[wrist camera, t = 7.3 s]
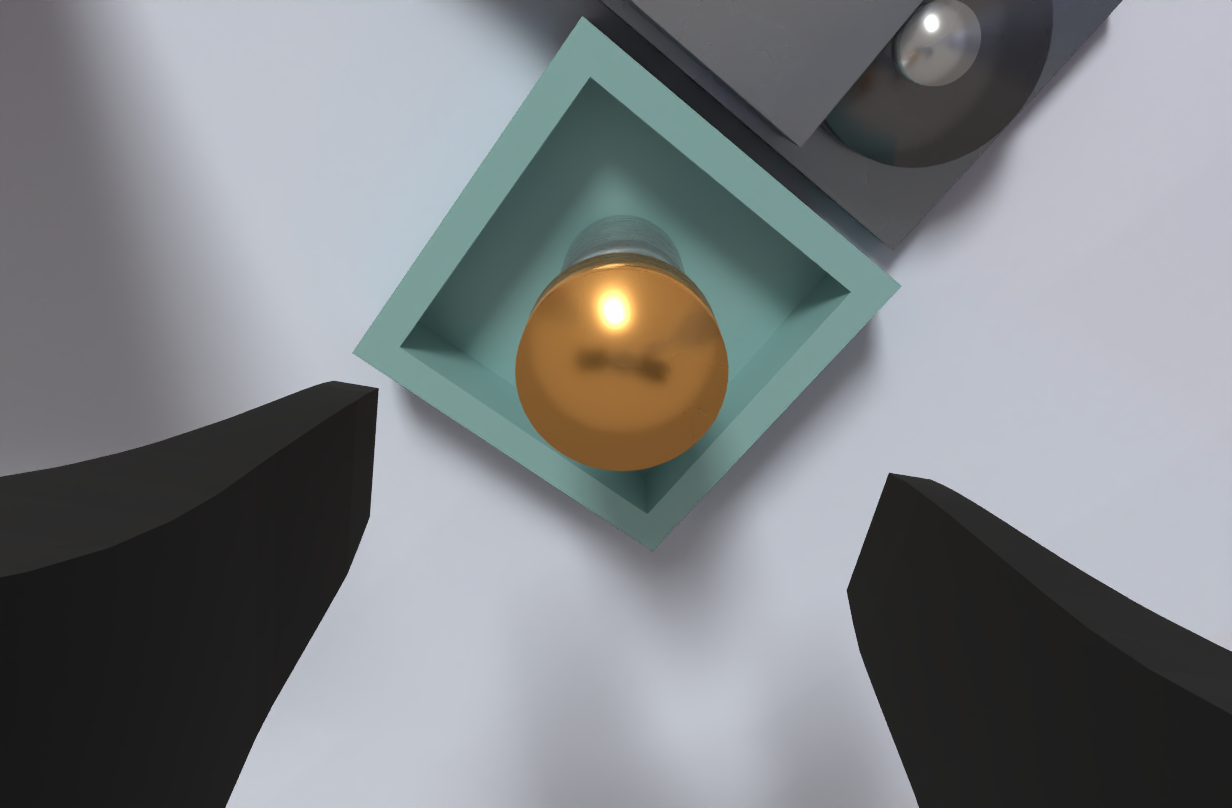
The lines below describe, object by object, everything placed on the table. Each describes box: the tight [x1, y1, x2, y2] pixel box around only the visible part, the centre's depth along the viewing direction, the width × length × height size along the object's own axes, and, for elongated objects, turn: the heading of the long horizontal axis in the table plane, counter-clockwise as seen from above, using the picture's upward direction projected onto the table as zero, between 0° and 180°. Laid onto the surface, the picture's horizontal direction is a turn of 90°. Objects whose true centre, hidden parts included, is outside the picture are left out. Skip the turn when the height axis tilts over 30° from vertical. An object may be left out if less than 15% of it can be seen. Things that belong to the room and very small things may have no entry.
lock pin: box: [515, 215, 729, 471], centre depth 17 cm, size 4×4×7 cm
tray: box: [353, 16, 901, 551], centre depth 20 cm, size 9×9×2 cm
